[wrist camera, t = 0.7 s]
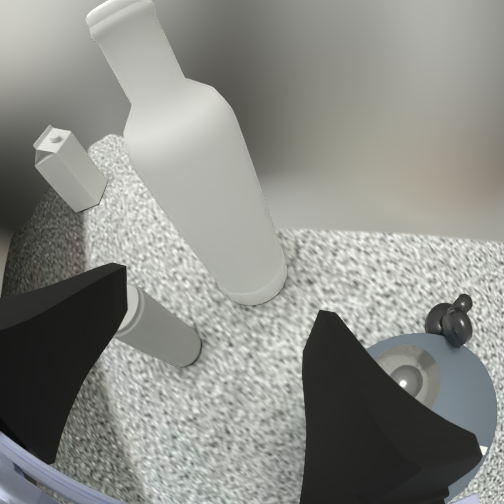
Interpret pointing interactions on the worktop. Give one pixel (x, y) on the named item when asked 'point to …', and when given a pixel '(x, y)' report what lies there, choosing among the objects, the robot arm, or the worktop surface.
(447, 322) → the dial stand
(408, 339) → the turntable
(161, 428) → the worktop surface
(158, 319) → the beverage can
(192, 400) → the worktop surface
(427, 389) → the cover
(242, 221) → the bottle
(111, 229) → the worktop surface
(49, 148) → the milk carton
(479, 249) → the worktop surface
